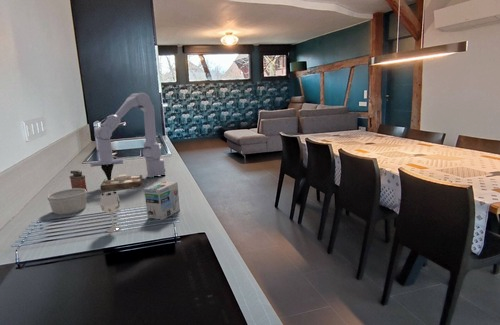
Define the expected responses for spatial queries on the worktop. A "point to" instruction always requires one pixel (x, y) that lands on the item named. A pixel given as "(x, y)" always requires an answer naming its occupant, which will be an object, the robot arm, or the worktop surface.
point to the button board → (121, 184)
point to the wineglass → (110, 206)
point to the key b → (122, 177)
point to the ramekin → (68, 201)
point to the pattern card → (121, 182)
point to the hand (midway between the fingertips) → (109, 179)
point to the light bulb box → (162, 200)
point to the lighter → (77, 180)
